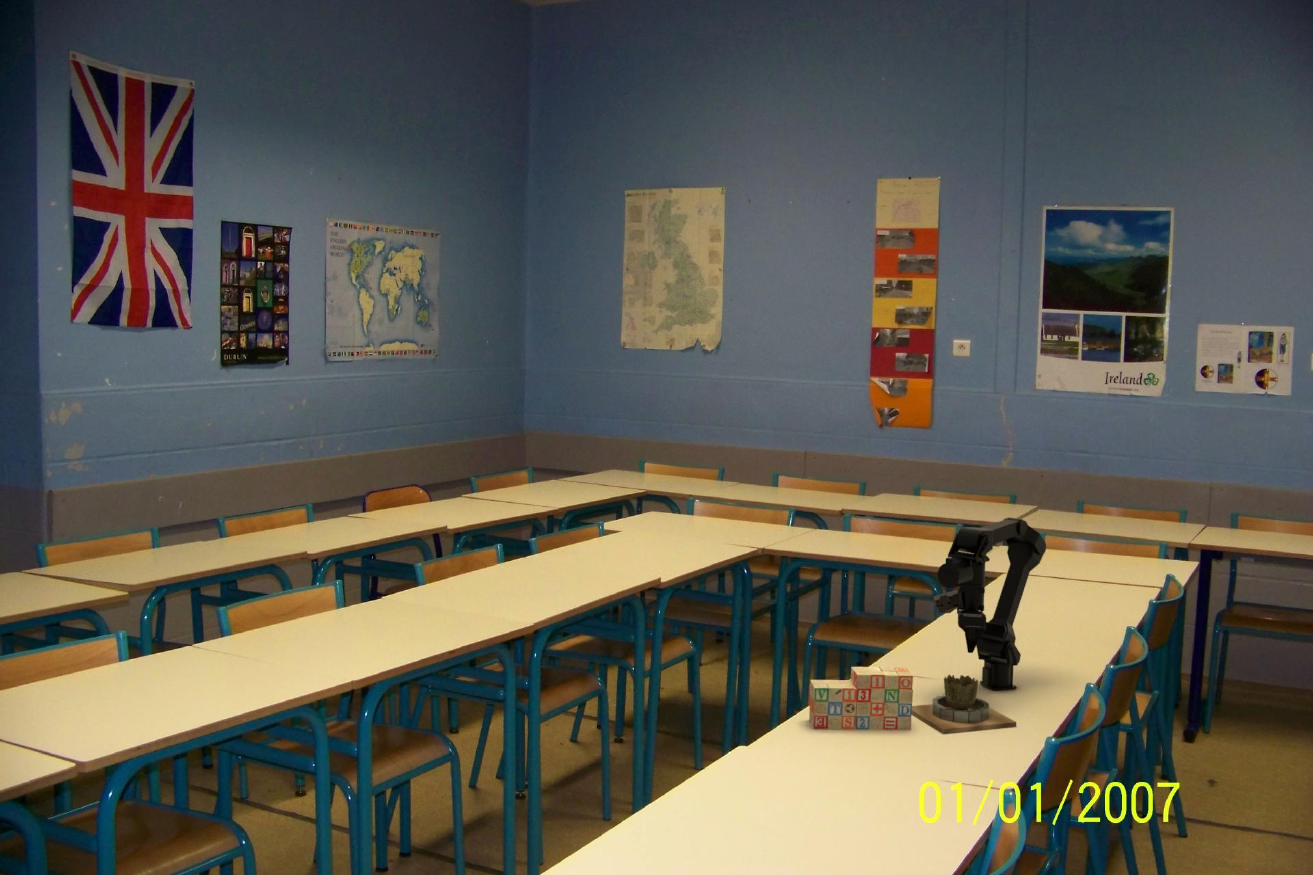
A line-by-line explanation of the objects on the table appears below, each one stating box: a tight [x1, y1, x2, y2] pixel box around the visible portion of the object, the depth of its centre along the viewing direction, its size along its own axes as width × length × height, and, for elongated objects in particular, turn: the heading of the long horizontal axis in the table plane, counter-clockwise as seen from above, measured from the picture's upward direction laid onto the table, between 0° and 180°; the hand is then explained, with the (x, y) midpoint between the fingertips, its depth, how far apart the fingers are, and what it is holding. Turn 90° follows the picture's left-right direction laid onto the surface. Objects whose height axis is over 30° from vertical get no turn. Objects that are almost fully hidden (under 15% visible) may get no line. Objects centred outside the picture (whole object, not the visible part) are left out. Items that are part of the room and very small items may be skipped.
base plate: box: [911, 703, 1017, 735], centre depth 263 cm, size 18×16×1 cm
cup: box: [943, 674, 979, 711], centre depth 262 cm, size 8×7×8 cm
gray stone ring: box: [932, 694, 990, 723], centre depth 262 cm, size 12×12×2 cm
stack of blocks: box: [808, 666, 914, 731], centre depth 257 cm, size 21×6×12 cm, turn 91°
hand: (969, 647), depth 277 cm, fingers open, 9 cm apart
